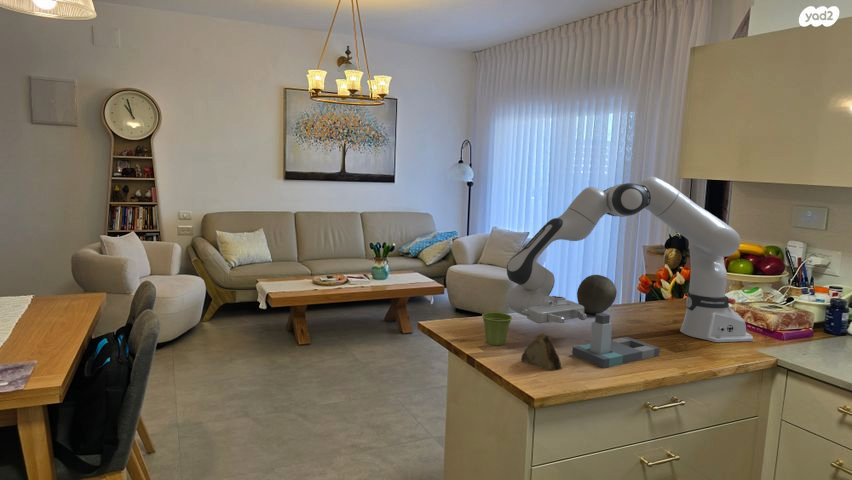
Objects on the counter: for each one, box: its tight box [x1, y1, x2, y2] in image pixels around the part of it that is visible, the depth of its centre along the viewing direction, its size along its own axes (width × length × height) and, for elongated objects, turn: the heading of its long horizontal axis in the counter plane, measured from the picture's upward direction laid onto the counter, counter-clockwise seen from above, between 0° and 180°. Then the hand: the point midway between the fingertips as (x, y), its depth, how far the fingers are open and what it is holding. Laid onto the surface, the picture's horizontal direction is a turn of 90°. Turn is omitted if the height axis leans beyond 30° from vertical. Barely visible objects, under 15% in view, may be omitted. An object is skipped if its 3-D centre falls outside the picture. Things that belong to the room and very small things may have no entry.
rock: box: [520, 333, 563, 371], centre depth 159 cm, size 11×9×10 cm
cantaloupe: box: [576, 274, 618, 315], centre depth 217 cm, size 14×14×15 cm
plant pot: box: [481, 311, 513, 346], centre depth 177 cm, size 9×9×9 cm
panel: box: [572, 336, 660, 369], centre depth 170 cm, size 24×12×2 cm, turn 121°
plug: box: [589, 312, 613, 355], centre depth 165 cm, size 4×4×13 cm
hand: (574, 318), depth 174 cm, fingers open, 8 cm apart
